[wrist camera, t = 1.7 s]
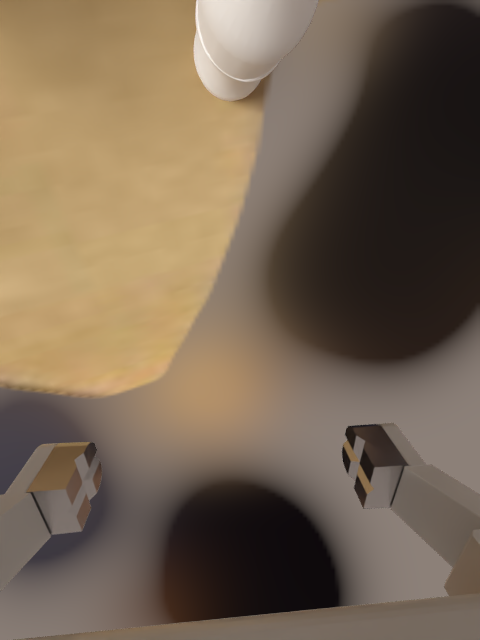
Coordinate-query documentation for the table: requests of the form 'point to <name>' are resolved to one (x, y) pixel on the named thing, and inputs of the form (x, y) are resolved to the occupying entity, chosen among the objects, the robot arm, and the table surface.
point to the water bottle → (245, 41)
